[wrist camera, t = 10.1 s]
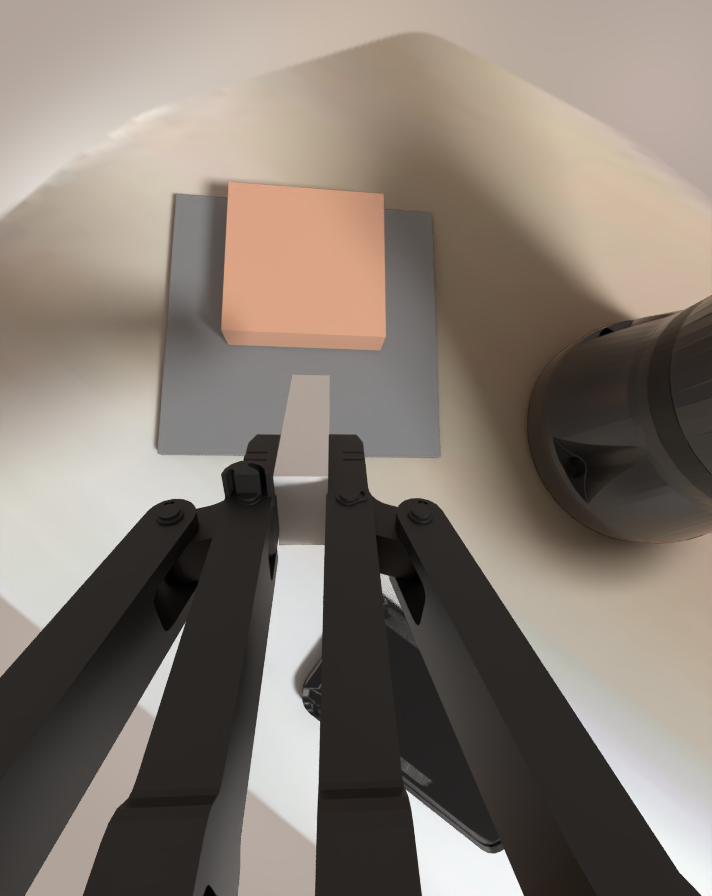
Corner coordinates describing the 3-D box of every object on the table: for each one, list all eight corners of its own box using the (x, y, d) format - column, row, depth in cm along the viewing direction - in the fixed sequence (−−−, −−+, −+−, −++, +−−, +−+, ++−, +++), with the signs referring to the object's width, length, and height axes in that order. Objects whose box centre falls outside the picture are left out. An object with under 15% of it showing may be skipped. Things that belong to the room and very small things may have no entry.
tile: (379, 351, 28) (378, 219, 30) (385, 336, 26) (383, 194, 28) (229, 346, 27) (235, 208, 29) (221, 330, 25) (228, 181, 26)
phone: (373, 589, 26) (566, 740, 26) (371, 586, 27) (556, 731, 27) (292, 702, 24) (497, 864, 24) (293, 694, 25) (489, 849, 25)
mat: (429, 218, 31) (432, 212, 30) (437, 457, 28) (440, 456, 28) (179, 200, 29) (176, 193, 29) (160, 454, 26) (157, 453, 26)
